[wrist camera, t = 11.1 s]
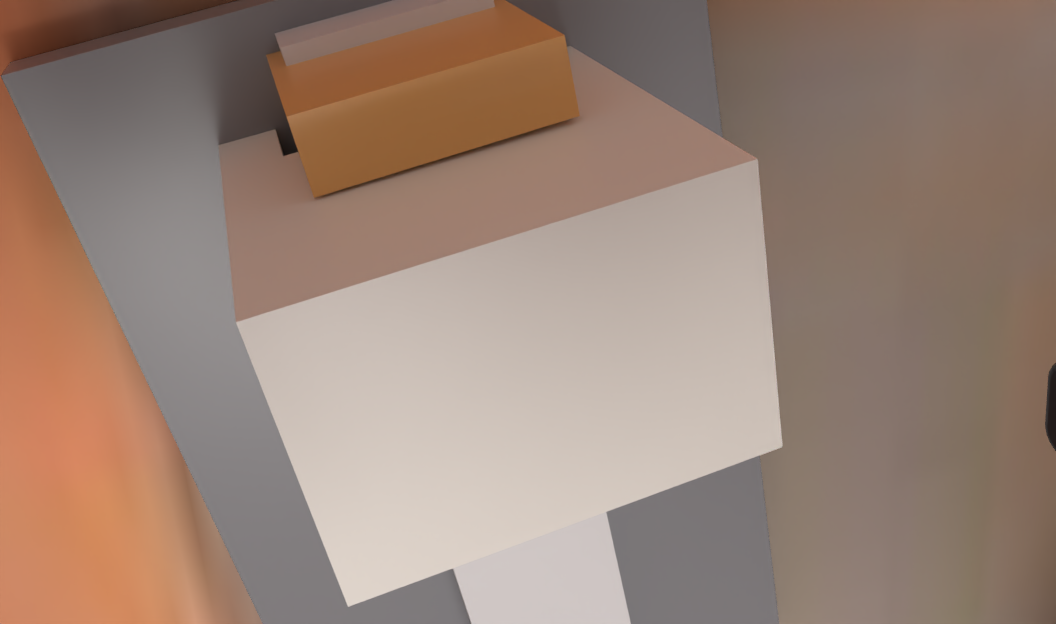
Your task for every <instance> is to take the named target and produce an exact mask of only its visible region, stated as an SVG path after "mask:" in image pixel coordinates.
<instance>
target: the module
mask: <svg viewBox="0 0 1056 624" xmlns="http://www.w3.org/2000/svg"><path fill="white" fill-rule="evenodd" d="M567 50H568V56H569V61H570V66H571V72H572V77H573V82H574V87H575V93H576V98H577V103H578V109H579V114H580V116H578V117H575V118H572V119H568V120H565V121H562V122H559V123H555V124H552V125H549V126H546V127H542V128H539V129H536V130H533V131H529V132H526V133H523V134H520V135H517V136H513V137H510V138H507V139H504V140H500V141H497V142H494V143H491V144H487V145H484V146H481V147H478V148H474V149H471V150H468V151H465V152H461V153H458V154H455V155H452V156H448V157H445V158H442V159H439V160H436V161H432V162H429V163H426V164H423V165H419V166H416V167H413V168H410V169H406V170H403V171H400V172H397V173H393V174H390V175H387V176H384V177H380V178H377V179H374V180H371V181H367V182H364V183H361V184H358V185H355V186H351V187H348V188H345V189H342V190H338V191H335V192H332V193H329V194H325V195H322V196H319V197H316V198H314V196H313V193H312V190H311V188H310V185H309V182H308V179H307V176H306V173H305V170H304V167H303V164H302V161H301V158H300V155H299V152H296V153H292V154H289V155H285V156H284V154H283V151H282V148H281V145H280V142H279V139H278V136H277V133H276V130H275V129H274V130H271V131H267V132H264V133H260V134H257V135H253V136H249V137H246V138H242V139H239V140H235V141H232V142H228V143H225V144H221V145H218V147H219V157H220V167H221V177H222V188H223V198H224V208H225V218H226V228H227V238H228V248H229V258H230V268H231V279H232V289H233V299H234V309H235V319H236V324H237V327H238V329H239V332H240V334H241V337H242V339H243V342H244V344H245V347H246V349H247V352H248V354H249V357H250V360H251V362H252V365H253V367H254V370H255V372H256V375H257V377H258V380H259V382H260V385H261V387H262V390H263V393H264V395H265V398H266V400H267V403H268V405H269V408H270V410H271V413H272V415H273V418H274V420H275V423H276V425H277V428H278V431H279V433H280V436H281V438H282V441H283V443H284V446H285V448H286V451H287V453H288V456H289V458H290V461H291V464H292V466H293V469H294V471H295V474H296V476H297V479H298V481H299V484H300V486H301V489H302V491H303V494H304V496H305V499H306V502H307V504H308V507H309V509H310V512H311V514H312V517H313V519H314V522H315V524H316V527H317V529H318V532H319V535H320V537H321V540H322V542H323V545H324V547H325V550H326V552H327V555H328V557H329V560H330V562H331V565H332V568H333V570H334V573H335V575H336V578H337V580H338V583H339V585H340V588H341V590H342V593H343V595H344V598H345V600H346V603H347V606H348V607H349V606H352V605H355V604H357V603H360V602H363V601H366V600H368V599H371V598H374V597H376V596H379V595H382V594H385V593H387V592H390V591H393V590H395V589H398V588H401V587H404V586H406V585H409V584H412V583H414V582H417V581H420V580H423V579H425V578H428V577H431V576H433V575H436V574H439V573H442V572H444V571H447V570H450V569H452V568H455V567H458V566H461V565H463V564H466V563H469V562H471V561H474V560H477V559H480V558H482V557H485V556H488V555H490V554H493V553H496V552H499V551H501V550H504V549H507V548H509V547H512V546H515V545H518V544H520V543H523V542H526V541H529V540H531V539H534V538H537V537H539V536H542V535H545V534H548V533H550V532H553V531H556V530H558V529H561V528H564V527H567V526H569V525H572V524H575V523H577V522H580V521H583V520H586V519H588V518H591V517H594V516H596V515H599V514H602V513H605V512H607V511H610V510H613V509H615V508H618V507H621V506H624V505H626V504H629V503H632V502H634V501H637V500H640V499H643V498H645V497H648V496H651V495H653V494H656V493H659V492H662V491H664V490H667V489H670V488H672V487H675V486H678V485H681V484H683V483H686V482H689V481H692V480H694V479H697V478H700V477H702V476H705V475H708V474H711V473H713V472H716V471H719V470H721V469H724V468H727V467H730V466H732V465H735V464H738V463H740V462H743V461H746V460H749V459H751V458H754V457H757V456H759V455H762V454H765V453H768V452H770V451H773V450H776V449H778V448H781V447H783V446H782V435H781V423H780V412H779V400H778V389H777V377H776V366H775V354H774V343H773V331H772V319H771V308H770V296H769V285H768V273H767V262H766V250H765V239H764V227H763V216H762V204H761V193H760V181H759V170H758V159H757V158H755V157H754V156H752V155H750V154H749V153H747V152H745V151H744V150H742V149H740V148H739V147H737V146H735V145H734V144H732V143H730V142H729V141H727V140H725V139H724V138H722V137H720V136H719V135H717V134H715V133H714V132H712V131H710V130H709V129H707V128H706V127H704V126H702V125H701V124H699V123H697V122H696V121H694V120H692V119H691V118H689V117H687V116H686V115H684V114H682V113H681V112H679V111H677V110H676V109H674V108H672V107H671V106H669V105H667V104H666V103H664V102H662V101H661V100H659V99H658V98H656V97H654V96H653V95H651V94H649V93H648V92H646V91H644V90H643V89H641V88H639V87H638V86H636V85H634V84H633V83H631V82H629V81H628V80H626V79H624V78H623V77H621V76H619V75H618V74H616V73H615V72H613V71H611V70H610V69H608V68H606V67H605V66H603V65H601V64H600V63H598V62H596V61H595V60H593V59H591V58H590V57H588V56H586V55H585V54H583V53H581V52H580V51H578V50H576V49H575V48H573V47H571V46H568V47H567Z"/></svg>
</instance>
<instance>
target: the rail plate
mask: <svg viewBox="0 0 1056 624" xmlns="http://www.w3.org/2000/svg"><path fill="white" fill-rule="evenodd" d="M568 46H571V47H573V48H575V49H576V50H578V51H580V52H581V53H583V54H585V55H586V56H588V57H590V58H591V59H593V60H595V61H596V62H598V63H600V64H601V65H603V66H605V67H606V68H608V69H610V70H611V71H613V72H615V73H616V74H618V75H619V76H621V77H623V78H624V79H626V80H628V81H629V82H631V83H633V84H634V85H636V86H638V87H639V88H641V89H643V90H644V91H646V92H648V93H649V94H651V95H653V96H654V97H656V98H658V99H659V100H661V101H662V102H664V103H666V104H667V105H669V106H671V107H672V108H674V109H676V110H677V111H679V112H681V113H682V114H684V115H686V116H687V117H689V118H691V119H692V120H694V121H696V122H697V123H699V124H701V125H702V126H704V127H706V128H707V129H709V130H710V131H712V132H714V133H715V134H717V135H719V136H720V137H722V128H721V119H720V111H719V102H718V94H717V85H716V76H715V68H714V59H713V51H712V42H711V33H710V25H709V16H708V8H707V0H237V1H233V2H230V3H226V4H222V5H219V6H215V7H211V8H208V9H204V10H200V11H197V12H193V13H189V14H186V15H182V16H178V17H175V18H171V19H167V20H164V21H160V22H156V23H153V24H149V25H145V26H142V27H138V28H134V29H131V30H127V31H123V32H120V33H116V34H112V35H109V36H105V37H101V38H98V39H94V40H90V41H87V42H83V43H79V44H76V45H72V46H68V47H65V48H61V49H57V50H54V51H50V52H46V53H42V54H39V55H35V56H31V57H28V58H24V59H20V60H17V61H13V62H10V63H9V65H8V66H7V68H6V69H5V70H4V72H3V73H2V75H1V77H2V79H3V82H4V84H5V86H6V88H7V90H8V92H9V94H10V96H11V98H12V100H13V102H14V105H15V107H16V109H17V111H18V113H19V115H20V117H21V119H22V121H23V123H24V125H25V128H26V130H27V132H28V134H29V136H30V138H31V140H32V142H33V144H34V146H35V148H36V151H37V153H38V155H39V157H40V159H41V161H42V163H43V165H44V167H45V169H46V171H47V174H48V176H49V178H50V180H51V182H52V184H53V186H54V188H55V190H56V192H57V194H58V197H59V199H60V201H61V203H62V205H63V207H64V209H65V211H66V213H67V215H68V217H69V220H70V222H71V224H72V226H73V228H74V230H75V232H76V234H77V236H78V238H79V240H80V243H81V245H82V247H83V249H84V251H85V253H86V255H87V257H88V259H89V261H90V263H91V265H92V268H93V270H94V272H95V274H96V276H97V278H98V280H99V282H100V284H101V286H102V288H103V291H104V293H105V295H106V297H107V299H108V301H109V303H110V305H111V307H112V309H113V311H114V314H115V316H116V318H117V320H118V322H119V324H120V326H121V328H122V330H123V332H124V334H125V337H126V339H127V341H128V343H129V345H130V347H131V349H132V351H133V353H134V355H135V357H136V360H137V362H138V364H139V366H140V368H141V370H142V372H143V374H144V376H145V378H146V380H147V383H148V385H149V387H150V389H151V391H152V393H153V395H154V397H155V399H156V401H157V403H158V406H159V408H160V410H161V412H162V414H163V416H164V418H165V420H166V422H167V424H168V426H169V429H170V431H171V433H172V435H173V437H174V439H175V441H176V443H177V445H178V447H179V449H180V452H181V454H182V456H183V458H184V460H185V462H186V464H187V466H188V468H189V470H190V472H191V475H192V477H193V479H194V481H195V483H196V485H197V487H198V489H199V491H200V493H201V495H202V498H203V500H204V502H205V504H206V506H207V508H208V510H209V512H210V514H211V516H212V518H213V521H214V523H215V525H216V527H217V529H218V531H219V533H220V535H221V537H222V539H223V541H224V544H225V546H226V548H227V550H228V552H229V554H230V556H231V558H232V560H233V562H234V564H235V567H236V569H237V571H238V573H239V575H240V577H241V579H242V581H243V583H244V585H245V587H246V590H247V592H248V594H249V596H250V598H251V600H252V602H253V604H254V606H255V608H256V610H257V612H258V615H259V617H260V619H261V621H262V623H263V624H779V618H778V610H777V601H776V593H775V584H774V575H773V567H772V558H771V550H770V541H769V532H768V524H767V515H766V507H765V498H764V489H763V481H762V472H761V464H760V455H759V456H757V457H754V458H751V459H749V460H746V461H743V462H740V463H738V464H735V465H732V466H730V467H727V468H724V469H721V470H719V471H716V472H713V473H711V474H708V475H705V476H702V477H700V478H697V479H694V480H692V481H689V482H686V483H683V484H681V485H678V486H675V487H672V488H670V489H667V490H664V491H662V492H659V493H656V494H653V495H651V496H648V497H645V498H643V499H640V500H637V501H634V502H632V503H629V504H626V505H624V506H621V507H618V508H615V509H613V510H610V511H607V512H605V513H602V514H599V515H596V516H594V517H591V518H588V519H586V520H583V521H580V522H577V523H575V524H572V525H569V526H567V527H564V528H561V529H558V530H556V531H553V532H550V533H548V534H545V535H542V536H539V537H537V538H534V539H531V540H529V541H526V542H523V543H520V544H518V545H515V546H512V547H509V548H507V549H504V550H501V551H499V552H496V553H493V554H490V555H488V556H485V557H482V558H480V559H477V560H474V561H471V562H469V563H466V564H463V565H461V566H458V567H455V568H452V569H450V570H447V571H444V572H442V573H439V574H436V575H433V576H431V577H428V578H425V579H423V580H420V581H417V582H414V583H412V584H409V585H406V586H404V587H401V588H398V589H395V590H393V591H390V592H387V593H385V594H382V595H379V596H376V597H374V598H371V599H368V600H366V601H363V602H360V603H357V604H355V605H352V606H349V607H348V606H347V603H346V600H345V598H344V595H343V593H342V590H341V588H340V585H339V583H338V580H337V578H336V575H335V573H334V570H333V568H332V565H331V562H330V560H329V557H328V555H327V552H326V550H325V547H324V545H323V542H322V540H321V537H320V535H319V532H318V529H317V527H316V524H315V522H314V519H313V517H312V514H311V512H310V509H309V507H308V504H307V502H306V499H305V496H304V494H303V491H302V489H301V486H300V484H299V481H298V479H297V476H296V474H295V471H294V469H293V466H292V464H291V461H290V458H289V456H288V453H287V451H286V448H285V446H284V443H283V441H282V438H281V436H280V433H279V431H278V428H277V425H276V423H275V420H274V418H273V415H272V413H271V410H270V408H269V405H268V403H267V400H266V398H265V395H264V393H263V390H262V387H261V385H260V382H259V380H258V377H257V375H256V372H255V370H254V367H253V365H252V362H251V360H250V357H249V354H248V352H247V349H246V347H245V344H244V342H243V339H242V337H241V334H240V332H239V329H238V327H237V324H236V319H235V309H234V299H233V289H232V279H231V268H230V258H229V248H228V238H227V228H226V218H225V208H224V198H223V188H222V177H221V167H220V157H219V147H218V145H221V144H225V143H228V142H232V141H235V140H239V139H242V138H246V137H249V136H253V135H257V134H260V133H264V132H267V131H271V130H274V129H275V130H276V133H277V136H278V139H279V142H280V145H281V148H282V151H283V154H284V156H285V155H289V154H292V153H296V152H299V155H300V158H301V161H302V164H303V167H304V170H305V173H306V176H307V179H308V182H309V185H310V188H311V190H312V193H313V196H314V198H316V197H319V196H322V195H325V194H329V193H332V192H335V191H338V190H342V189H345V188H348V187H351V186H355V185H358V184H361V183H364V182H367V181H371V180H374V179H377V178H380V177H384V176H387V175H390V174H393V173H397V172H400V171H403V170H406V169H410V168H413V167H416V166H419V165H423V164H426V163H429V162H432V161H436V160H439V159H442V158H445V157H448V156H452V155H455V154H458V153H461V152H465V151H468V150H471V149H474V148H478V147H481V146H484V145H487V144H491V143H494V142H497V141H500V140H504V139H507V138H510V137H513V136H517V135H520V134H523V133H526V132H529V131H533V130H536V129H539V128H542V127H546V126H549V125H552V124H555V123H559V122H562V121H565V120H568V119H572V118H575V117H578V116H580V114H579V109H578V103H577V98H576V93H575V87H574V82H573V77H572V72H571V66H570V61H569V56H568V50H567V47H568ZM722 138H723V137H722Z"/></svg>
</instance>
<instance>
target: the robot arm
mask: <svg viewBox="0 0 1056 624" xmlns="http://www.w3.org/2000/svg"><path fill="white" fill-rule="evenodd" d="M1045 428H1046V433H1047V436H1048V438H1049V441H1050V443H1051V445H1052V446H1053V448H1054V449H1055V451H1056V363H1055V364H1054V365H1053V366H1052V368H1051V370H1050V371H1049V376H1048V389H1047V405H1046V421H1045Z"/></svg>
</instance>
